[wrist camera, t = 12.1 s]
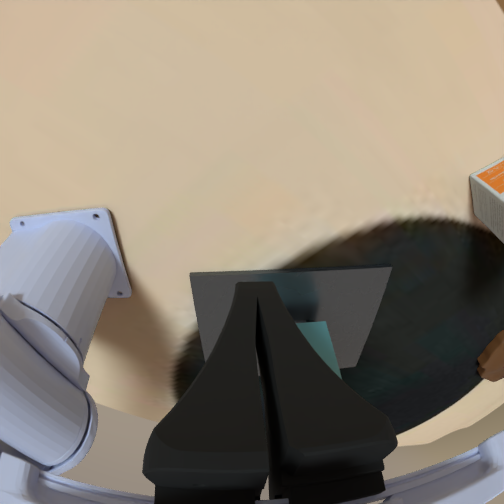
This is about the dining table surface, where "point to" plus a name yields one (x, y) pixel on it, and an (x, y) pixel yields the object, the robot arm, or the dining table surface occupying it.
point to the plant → (493, 359)
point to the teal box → (320, 342)
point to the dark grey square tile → (301, 302)
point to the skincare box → (489, 196)
